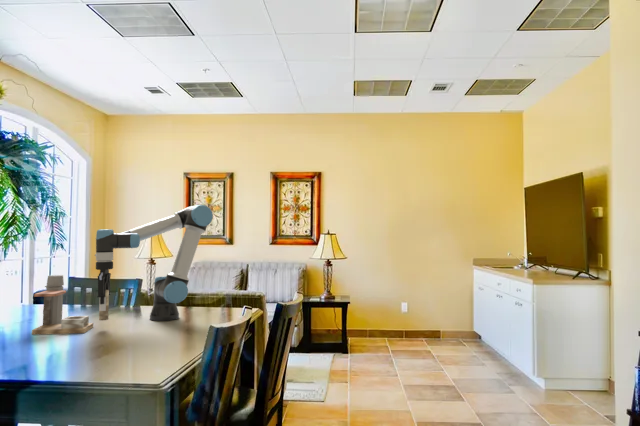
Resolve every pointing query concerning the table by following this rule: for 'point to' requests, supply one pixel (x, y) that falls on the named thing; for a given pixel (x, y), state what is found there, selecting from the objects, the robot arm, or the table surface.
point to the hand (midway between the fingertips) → (103, 309)
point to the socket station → (68, 324)
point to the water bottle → (55, 298)
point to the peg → (104, 314)
